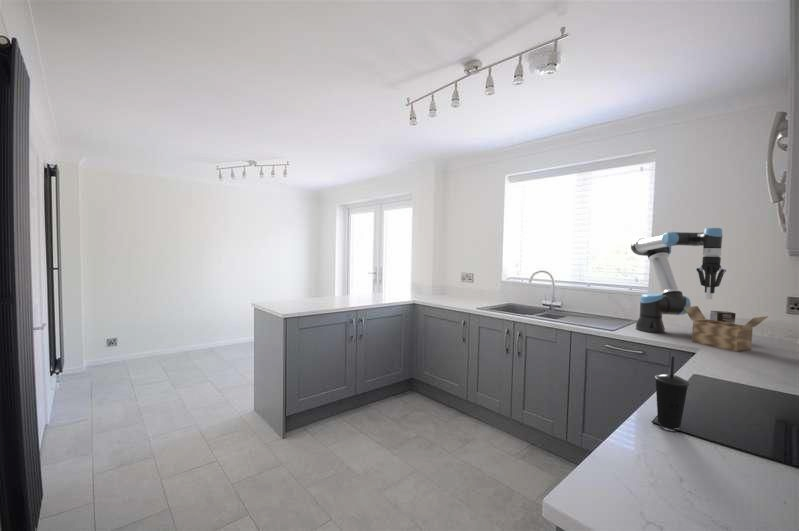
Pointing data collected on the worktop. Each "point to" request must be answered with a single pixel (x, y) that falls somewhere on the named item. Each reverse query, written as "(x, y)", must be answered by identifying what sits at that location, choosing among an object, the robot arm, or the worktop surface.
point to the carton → (722, 335)
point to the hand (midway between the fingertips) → (709, 298)
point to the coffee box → (723, 316)
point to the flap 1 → (694, 313)
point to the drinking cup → (670, 398)
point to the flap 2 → (754, 322)
